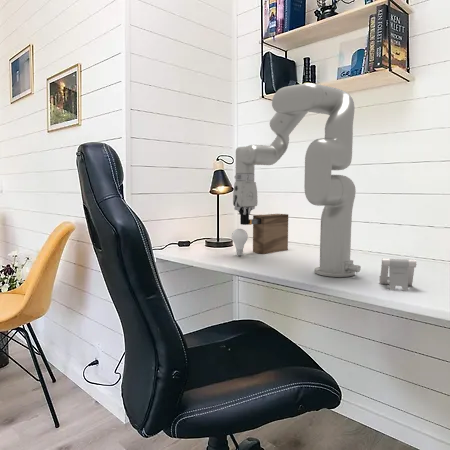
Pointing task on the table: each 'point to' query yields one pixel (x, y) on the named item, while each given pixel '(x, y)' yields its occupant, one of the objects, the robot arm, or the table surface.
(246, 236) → the lightbulb
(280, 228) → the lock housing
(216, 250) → the table surface
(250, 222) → the bar
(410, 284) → the portable electronic device stand
